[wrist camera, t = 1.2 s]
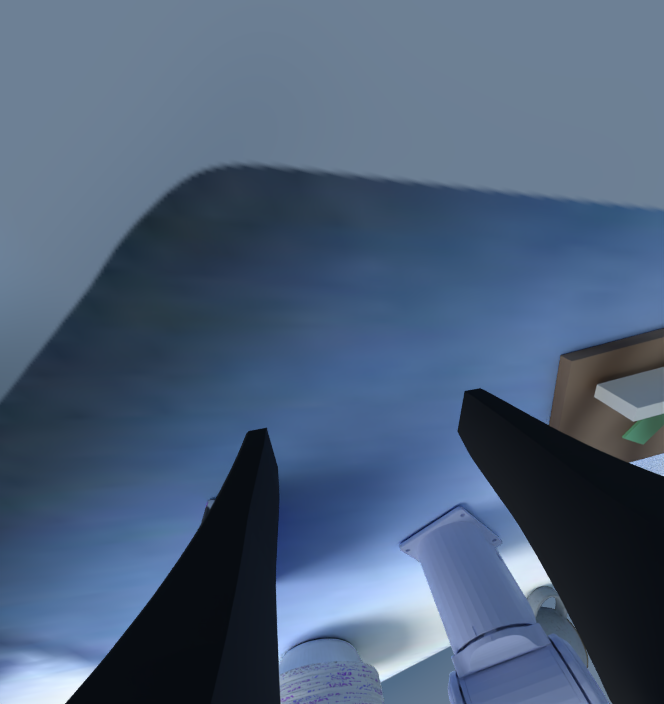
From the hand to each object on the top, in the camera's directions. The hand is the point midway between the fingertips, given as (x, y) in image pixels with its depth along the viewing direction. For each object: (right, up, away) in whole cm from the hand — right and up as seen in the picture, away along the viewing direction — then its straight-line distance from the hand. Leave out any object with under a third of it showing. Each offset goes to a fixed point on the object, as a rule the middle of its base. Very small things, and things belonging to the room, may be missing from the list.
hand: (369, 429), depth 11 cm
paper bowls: (-3, -38, +30) cm, 49 cm away
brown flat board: (+27, -1, +16) cm, 31 cm away
